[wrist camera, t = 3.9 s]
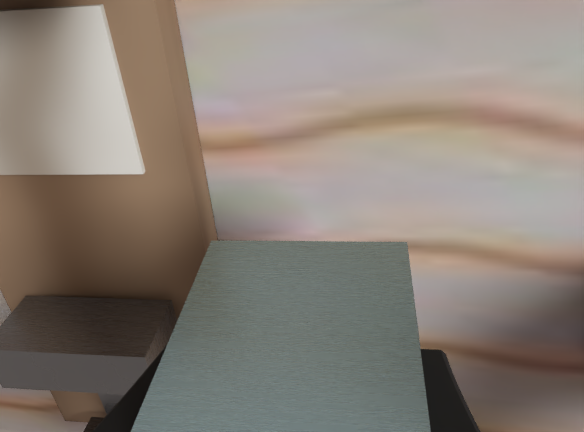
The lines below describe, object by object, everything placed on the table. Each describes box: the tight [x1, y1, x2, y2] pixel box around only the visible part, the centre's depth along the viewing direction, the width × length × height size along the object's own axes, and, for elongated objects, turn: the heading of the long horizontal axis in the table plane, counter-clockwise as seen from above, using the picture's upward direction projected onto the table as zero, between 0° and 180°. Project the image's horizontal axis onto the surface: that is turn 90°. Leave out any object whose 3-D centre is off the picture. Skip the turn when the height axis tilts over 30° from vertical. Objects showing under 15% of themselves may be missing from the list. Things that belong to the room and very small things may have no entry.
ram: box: [0, 296, 177, 432], centre depth 21 cm, size 6×9×3 cm, turn 4°
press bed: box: [0, 0, 218, 422], centre depth 18 cm, size 9×24×4 cm, turn 4°
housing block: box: [131, 241, 431, 432], centre depth 10 cm, size 4×4×6 cm
